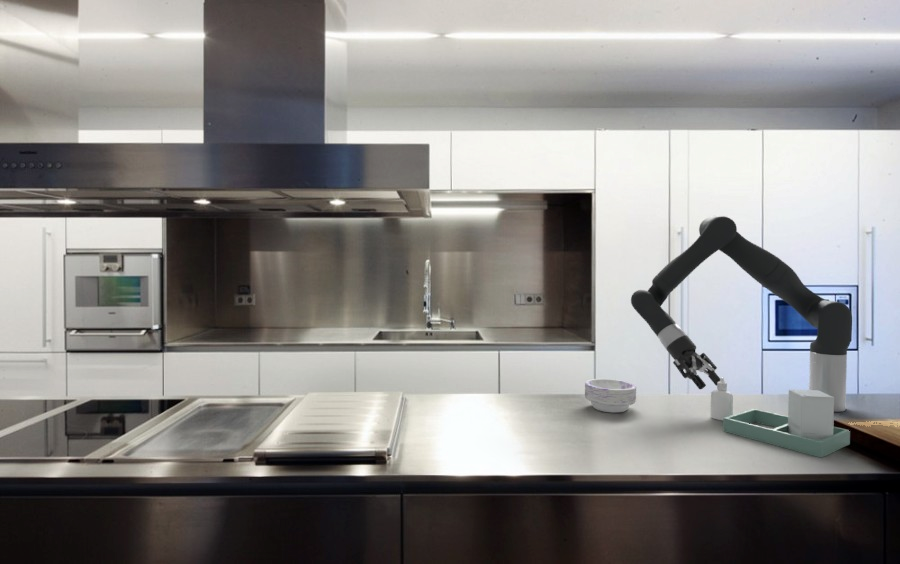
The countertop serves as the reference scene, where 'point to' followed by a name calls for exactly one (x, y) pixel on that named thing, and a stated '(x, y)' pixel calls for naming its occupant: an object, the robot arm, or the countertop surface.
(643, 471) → the countertop surface
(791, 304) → the robot arm
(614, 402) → the paper bowls
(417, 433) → the countertop surface
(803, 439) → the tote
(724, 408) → the eye dropper bottle
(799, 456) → the countertop surface
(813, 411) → the supplement box
